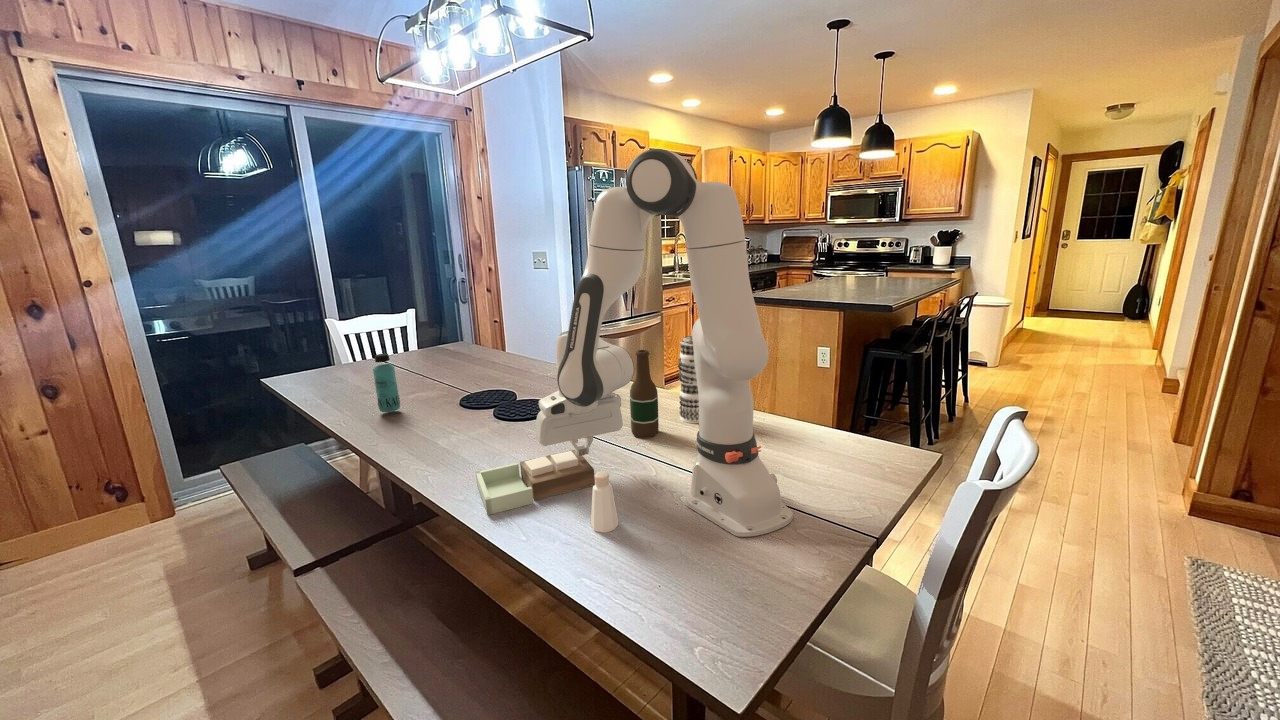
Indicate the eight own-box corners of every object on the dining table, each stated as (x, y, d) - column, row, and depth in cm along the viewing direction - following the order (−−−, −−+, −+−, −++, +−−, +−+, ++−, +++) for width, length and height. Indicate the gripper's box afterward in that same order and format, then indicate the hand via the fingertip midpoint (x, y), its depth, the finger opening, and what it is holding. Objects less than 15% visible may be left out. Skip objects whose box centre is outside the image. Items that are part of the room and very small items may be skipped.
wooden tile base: (594, 485, 115) (593, 469, 114) (534, 500, 109) (532, 483, 108) (577, 464, 125) (576, 449, 124) (521, 477, 119) (519, 461, 118)
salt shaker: (585, 525, 99) (581, 474, 96) (606, 514, 103) (603, 465, 100) (603, 536, 95) (599, 484, 93) (624, 524, 99) (621, 473, 96)
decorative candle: (714, 415, 154) (714, 335, 148) (701, 425, 146) (701, 341, 140) (686, 411, 159) (686, 333, 152) (673, 420, 151) (672, 339, 145)
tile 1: (553, 470, 114) (552, 464, 113) (532, 476, 111) (531, 470, 111) (545, 462, 118) (545, 456, 117) (524, 468, 115) (524, 461, 115)
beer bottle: (659, 428, 146) (657, 347, 140) (657, 439, 138) (655, 354, 132) (632, 428, 147) (629, 347, 141) (629, 438, 139) (626, 354, 133)
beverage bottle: (381, 411, 168) (371, 353, 163) (403, 408, 170) (394, 351, 165) (378, 418, 162) (367, 357, 157) (400, 415, 164) (390, 355, 159)
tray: (533, 503, 108) (532, 488, 107) (487, 515, 104) (485, 499, 103) (518, 476, 120) (517, 462, 119) (477, 485, 116) (475, 471, 115)
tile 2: (578, 465, 116) (577, 458, 115) (557, 470, 114) (556, 463, 113) (571, 456, 120) (571, 450, 120) (551, 461, 118) (550, 455, 118)
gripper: (615, 387, 122) (617, 440, 126) (531, 402, 114) (536, 458, 117) (625, 394, 116) (628, 450, 120) (538, 410, 108) (543, 469, 112)
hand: (582, 454), depth 119 cm, fingers closed
